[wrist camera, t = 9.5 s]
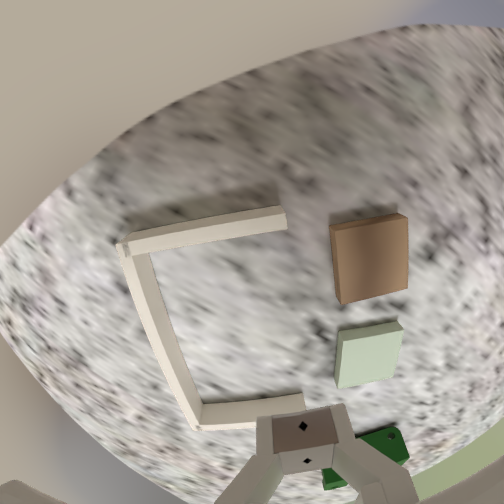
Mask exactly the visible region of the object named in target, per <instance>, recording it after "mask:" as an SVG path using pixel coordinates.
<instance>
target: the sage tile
mask: <svg viewBox="0 0 504 504" xmlns="http://www.w3.org/2000/svg"><path fill="white" fill-rule="evenodd" d="M403 333H404V329H403V328H402V326H401V325H400V324H399V322H398V321H395V322H390V323H384V324H379V325H373V326H368V327H362V328H356V329H350V330H343V331H338V343H337V354H336V364H335V373H334V380H335V383H336V386H337V389H341V388H346V387H351V386H356V385H361V384H366V383H370V382H375V381H379V380H383V379H387V378H391V377H393V374H394V371H395V367H396V363H397V359H398V355H399V351H400V347H401V343H402V338H403Z"/></svg>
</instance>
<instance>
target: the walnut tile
mask: <svg viewBox="0 0 504 504" xmlns="http://www.w3.org/2000/svg"><path fill="white" fill-rule="evenodd" d="M329 230H330V239H331V247H332V257H333V267H334V278H335V290H336V297H337V299H338V300H339V302H340V304H341V305H343V304H348V303H352V302H356V301H360V300H364V299H369V298H373V297H376V296H380V295H384V294H388V293H392V292H396V291H399V290H403V289H407V288H408V218H407V217H405V216H403V215H401V214H399V213H396V214H390V215H385V216H379V217H374V218H368V219H363V220H357V221H352V222H346V223H341V224H335V225H330V226H329Z"/></svg>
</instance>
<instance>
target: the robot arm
mask: <svg viewBox="0 0 504 504" xmlns="http://www.w3.org/2000/svg"><path fill="white" fill-rule="evenodd" d="M256 452H257V455H254V456H252V457H251V458H250V459H249V461H248V462H247V463H246V465H245V466H244V467H243V468H242V470H241V471H240V472H239V473H238V475H237V476H236V477H235V478H234V480H233V481H232V482H231V483H230V484H229V486H228V487H227V488H226V489H225V490H224V492H223V493H222V494H221V495H220V496H219V497H218V499H217V500H216V501H215V502H214V504H267V503H268V501H269V500H270V498H271V497H272V495H273V494H274V492H275V490H276V489H277V487H278V485H279V484H280V482H281V480H282V479H283V477H284V475H288V474H295V473H301V472H306V471H313V470H319V469H325V468H331V467H332V469H333V470H334V471H335V472H336V473H337V474H338V475H339V476H341V477H342V478H343V479H344V480H345V481H346V482H347V483H348V484H349V485H350V486H352V487H353V488H354V489H355V490H356V491H357V492H358V493H359V494H358V497H357V499H356V501H355V503H354V504H504V455H502V456H501V457H499V458H498V459H497V460H495V461H494V462H492V463H491V464H489V465H487V466H486V467H484V468H483V469H481V470H480V471H478V472H476V473H475V474H473V475H471V476H470V477H468V478H466V479H464V480H462V481H460V482H459V483H457V484H455V485H453V486H451V487H449V488H447V489H445V490H443V491H441V492H439V493H437V494H435V495H433V496H430V497H428V498H426V499H423V500H421V501H419V499H418V496H417V493H416V490H415V487H414V485H413V482H412V479H411V476H410V474H409V471H408V470H407V469H405V468H404V467H402V466H400V465H399V464H397V463H396V462H394V461H393V460H391V459H390V458H388V457H387V456H385V455H384V454H382V453H381V452H379V451H378V450H376V449H375V448H373V447H372V446H370V445H369V444H367V443H366V442H365V441H363V440H362V439H360V438H358V439H355V435H354V432H353V429H352V426H351V422H350V419H349V416H348V413H347V410H346V407H345V405H344V403H340V404H336V405H331V406H325V407H320V408H315V409H310V410H304V411H300V412H294V413H286V414H278V415H268V416H258V417H257V419H256ZM0 504H67V503H65V502H62V501H60V500H58V499H55V498H53V497H51V496H49V495H47V494H45V493H42V492H40V491H38V490H36V489H34V488H32V487H31V486H29V485H27V484H25V483H23V482H21V481H18V480H12V481H9V482H7V483H5V484H3V485H1V486H0Z"/></svg>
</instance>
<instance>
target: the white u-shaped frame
mask: <svg viewBox="0 0 504 504" xmlns="http://www.w3.org/2000/svg"><path fill="white" fill-rule="evenodd" d="M284 229H288V227H287V220H286V213H285V212H284V210H283V209H282V207H281V205H278V206H271V207H265V208H259V209H253V210H247V211H241V212H235V213H230V214H224V215H218V216H213V217H207V218H202V219H197V220H191V221H186V222H181V223H176V224H171V225H166V226H161V227H156V228H151V229H146V230H142V231H137V232H132V233H130V234H129V235H127V236H126V237H125V238H123V239H122V240H121V241H119V242H118V243H117V244H115V245H116V248H117V252H118V255H119V258H120V262H121V265H122V268H123V271H124V274H125V277H126V280H127V283H128V286H129V289H130V292H131V295H132V297H133V300H134V303H135V306H136V308H137V311H138V314H139V316H140V319H141V321H142V324H143V327H144V329H145V331H146V334H147V336H148V339H149V341H150V344H151V346H152V348H153V351H154V353H155V355H156V357H157V360H158V362H159V364H160V366H161V369H162V371H163V373H164V375H165V377H166V379H167V381H168V383H169V386H170V388H171V390H172V392H173V394H174V396H175V398H176V400H177V402H178V404H179V405H180V407H181V409H182V411H183V413H184V415H185V417H186V419H187V420H188V422H189V424H190V426H191V428H192V430H193V431H207V430H228V429H242V428H253V427H256V419H257V417H258V416H268V415H278V414H286V413H294V412H300V411H304V410H306V406H305V401H304V396H303V393H299V394H293V395H286V396H280V397H273V398H265V399H257V400H249V401H239V402H227V403H213V404H203V403H202V401H201V399H200V396H199V394H198V392H197V389H196V387H195V385H194V382H193V380H192V377H191V375H190V372H189V370H188V368H187V365H186V363H185V360H184V357H183V355H182V352H181V350H180V347H179V344H178V342H177V339H176V336H175V334H174V331H173V328H172V325H171V322H170V319H169V317H168V314H167V311H166V308H165V305H164V302H163V299H162V296H161V293H160V289H159V286H158V283H157V280H156V277H155V273H154V270H153V267H152V263H151V260H150V256H149V253H150V252H156V251H161V250H167V249H172V248H178V247H184V246H189V245H195V244H201V243H206V242H212V241H218V240H224V239H230V238H236V237H242V236H248V235H254V234H260V233H266V232H272V231H278V230H284Z"/></svg>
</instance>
